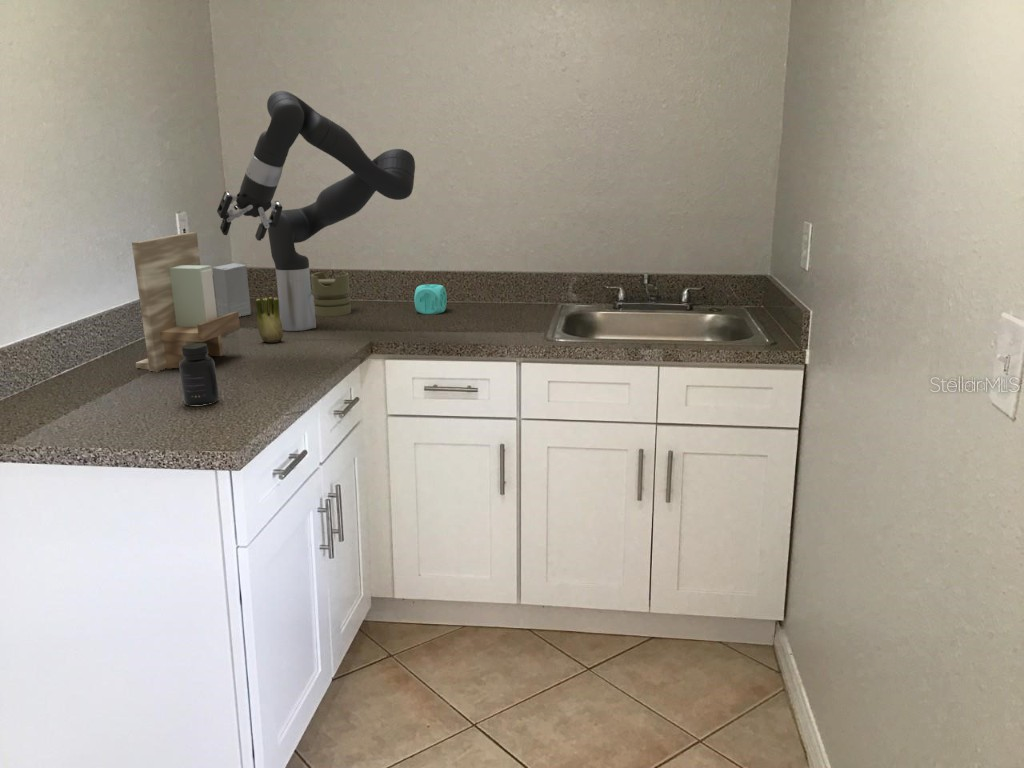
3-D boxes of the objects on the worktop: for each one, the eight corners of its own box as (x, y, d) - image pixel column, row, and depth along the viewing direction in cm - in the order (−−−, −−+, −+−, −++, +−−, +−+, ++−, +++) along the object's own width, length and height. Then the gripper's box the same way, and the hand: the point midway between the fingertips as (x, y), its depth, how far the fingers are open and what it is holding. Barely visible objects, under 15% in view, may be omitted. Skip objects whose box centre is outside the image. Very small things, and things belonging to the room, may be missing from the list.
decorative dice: (414, 314, 260) (413, 288, 258) (423, 309, 268) (421, 284, 265) (439, 314, 258) (438, 288, 256) (447, 309, 266) (446, 284, 264)
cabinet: (218, 323, 206) (212, 265, 202) (207, 327, 202) (200, 268, 198) (189, 322, 208) (181, 265, 204) (176, 326, 204) (169, 268, 200)
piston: (315, 271, 267) (351, 271, 266) (319, 309, 270) (354, 308, 270) (307, 277, 256) (344, 276, 256) (310, 316, 259) (347, 316, 259)
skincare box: (238, 312, 266) (233, 262, 262) (253, 315, 262) (248, 264, 258) (215, 317, 260) (210, 265, 255) (230, 320, 256) (224, 267, 251)
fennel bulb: (257, 343, 225) (252, 298, 222) (268, 339, 229) (264, 295, 226) (276, 344, 223) (271, 299, 220) (286, 340, 227) (282, 296, 224)
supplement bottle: (189, 398, 177) (182, 342, 173) (222, 396, 177) (216, 340, 174) (179, 408, 170) (172, 350, 167) (214, 406, 171) (207, 348, 167)
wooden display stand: (249, 351, 215) (236, 232, 207) (199, 374, 195) (183, 243, 187) (186, 349, 220) (171, 232, 211) (131, 370, 199) (112, 242, 191)
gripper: (238, 178, 189) (217, 240, 196) (296, 190, 199) (273, 248, 206) (227, 162, 194) (207, 223, 201) (285, 174, 203) (263, 232, 210)
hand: (241, 236), depth 203 cm, fingers open, 8 cm apart
